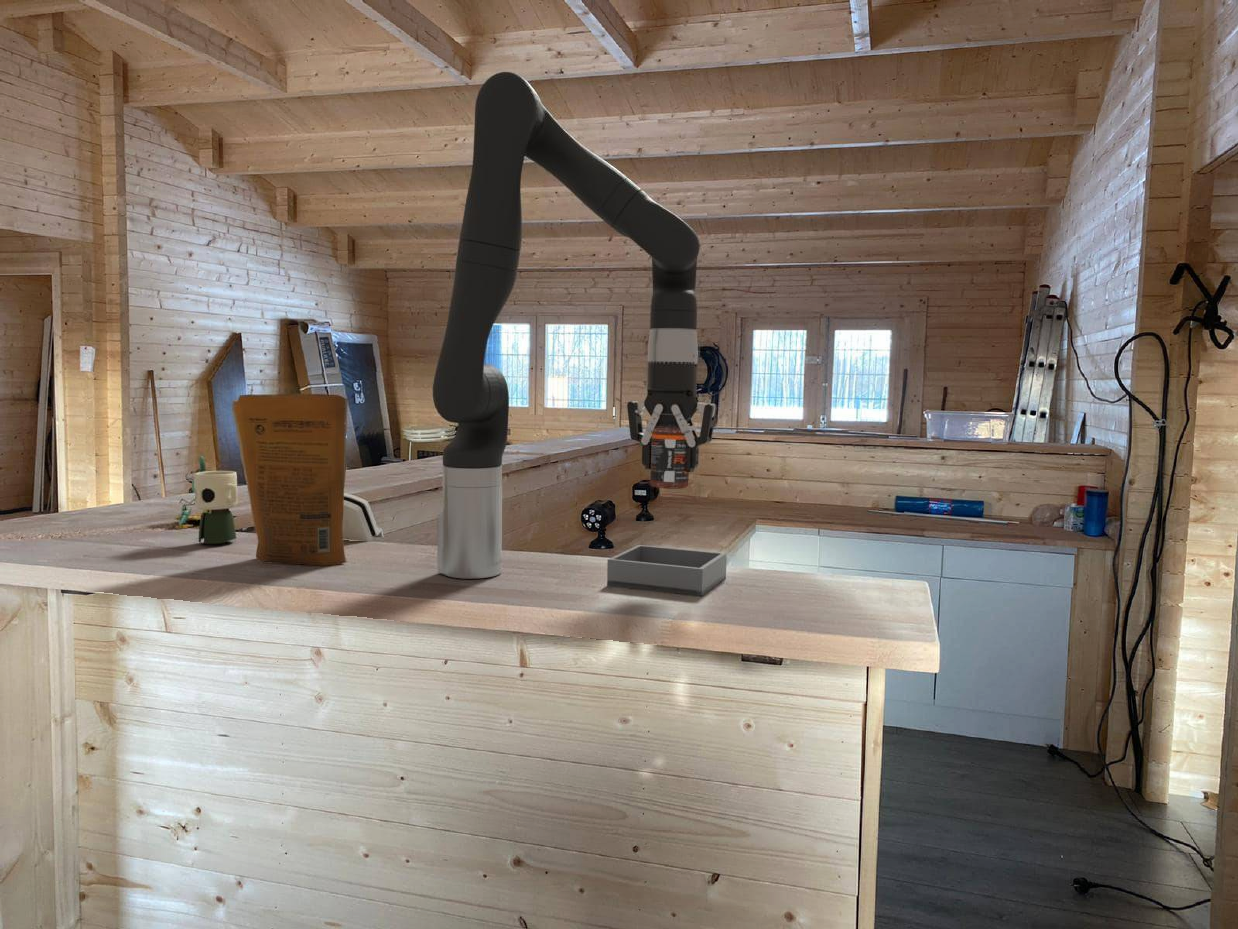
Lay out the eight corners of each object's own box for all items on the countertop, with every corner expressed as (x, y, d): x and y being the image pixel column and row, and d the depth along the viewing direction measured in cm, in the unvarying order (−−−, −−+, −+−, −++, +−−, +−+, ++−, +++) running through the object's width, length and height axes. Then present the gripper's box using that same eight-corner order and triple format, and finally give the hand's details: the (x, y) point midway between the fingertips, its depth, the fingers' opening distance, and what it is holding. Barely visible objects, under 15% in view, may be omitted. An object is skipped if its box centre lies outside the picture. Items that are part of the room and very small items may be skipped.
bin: (607, 585, 134) (607, 559, 133) (638, 568, 146) (638, 544, 145) (701, 596, 128) (702, 569, 128) (726, 578, 140) (726, 553, 140)
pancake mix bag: (340, 570, 141) (337, 394, 138) (233, 563, 145) (228, 392, 142) (360, 561, 148) (358, 394, 145) (257, 555, 151) (253, 391, 148)
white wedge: (385, 537, 170) (374, 490, 166) (371, 549, 166) (359, 502, 162) (315, 530, 176) (302, 485, 172) (300, 541, 172) (286, 496, 168)
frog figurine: (147, 527, 176) (150, 454, 176) (216, 524, 193) (219, 456, 193) (184, 530, 173) (187, 455, 173) (251, 526, 190) (254, 458, 190)
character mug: (180, 543, 160) (178, 472, 159) (215, 537, 166) (213, 469, 165) (219, 550, 155) (217, 476, 154) (254, 543, 161) (252, 473, 160)
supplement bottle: (678, 490, 131) (680, 414, 130) (643, 487, 134) (644, 413, 133) (695, 486, 136) (697, 413, 135) (660, 483, 139) (662, 412, 138)
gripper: (619, 358, 132) (617, 469, 134) (711, 359, 127) (707, 475, 129) (637, 360, 139) (635, 465, 141) (725, 361, 134) (722, 470, 136)
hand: (669, 469), depth 135 cm, fingers closed on supplement bottle, 6 cm apart
